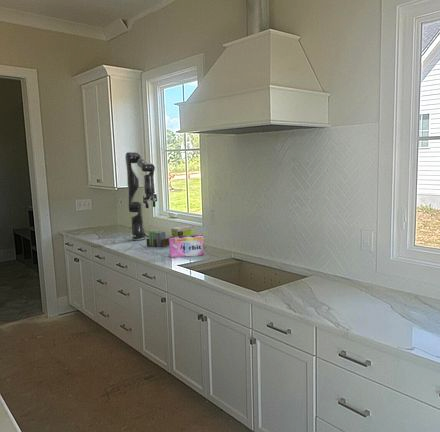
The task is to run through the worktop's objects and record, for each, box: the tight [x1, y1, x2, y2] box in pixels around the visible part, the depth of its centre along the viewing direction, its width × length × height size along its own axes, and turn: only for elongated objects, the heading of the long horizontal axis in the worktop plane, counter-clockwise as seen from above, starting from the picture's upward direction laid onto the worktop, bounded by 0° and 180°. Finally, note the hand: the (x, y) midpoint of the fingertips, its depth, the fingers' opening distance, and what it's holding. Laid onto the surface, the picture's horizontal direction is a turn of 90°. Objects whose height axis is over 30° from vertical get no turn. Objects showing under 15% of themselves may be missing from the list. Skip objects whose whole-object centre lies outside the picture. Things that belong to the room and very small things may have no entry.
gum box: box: [168, 234, 205, 258], centre depth 293 cm, size 24×8×14 cm, turn 103°
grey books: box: [156, 230, 167, 248], centre depth 323 cm, size 6×4×11 cm, turn 160°
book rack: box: [145, 237, 170, 249], centre depth 324 cm, size 10×15×7 cm, turn 70°
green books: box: [150, 229, 161, 246], centre depth 325 cm, size 6×4×12 cm, turn 160°
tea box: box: [170, 225, 195, 237], centre depth 328 cm, size 15×10×15 cm, turn 134°
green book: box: [148, 229, 155, 246], centre depth 326 cm, size 6×2×12 cm, turn 160°
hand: (150, 207), depth 333 cm, fingers open, 8 cm apart
